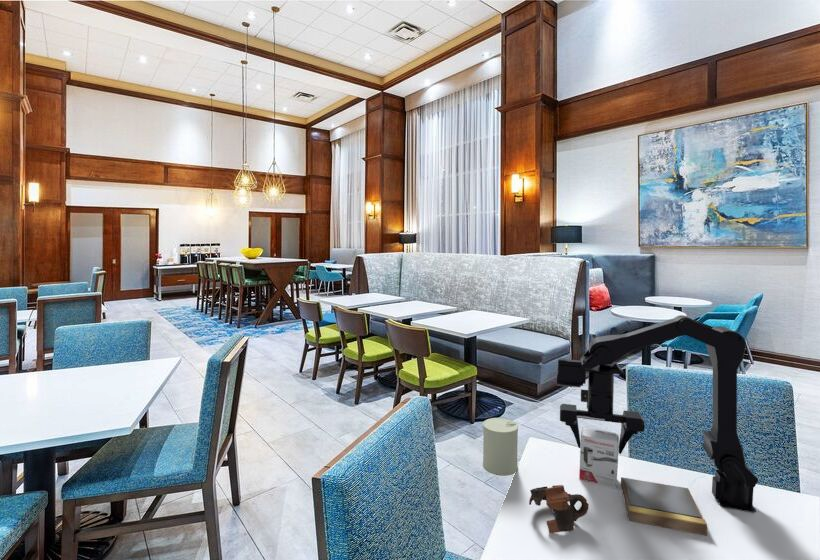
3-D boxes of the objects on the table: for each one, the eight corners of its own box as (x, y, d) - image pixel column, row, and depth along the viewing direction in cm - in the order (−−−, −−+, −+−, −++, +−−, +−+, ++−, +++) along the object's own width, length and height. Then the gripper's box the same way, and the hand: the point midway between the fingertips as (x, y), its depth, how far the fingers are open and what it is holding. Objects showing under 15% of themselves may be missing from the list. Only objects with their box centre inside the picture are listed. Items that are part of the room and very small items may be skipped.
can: (523, 474, 107) (524, 428, 106) (489, 477, 106) (489, 431, 105) (509, 456, 116) (509, 414, 115) (477, 459, 115) (478, 417, 114)
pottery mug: (535, 536, 85) (524, 491, 88) (536, 529, 93) (527, 488, 97) (596, 529, 82) (583, 483, 86) (592, 522, 91) (581, 481, 94)
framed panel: (687, 496, 97) (688, 487, 97) (706, 535, 84) (707, 524, 84) (620, 485, 102) (621, 476, 102) (628, 520, 89) (629, 510, 88)
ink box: (578, 479, 104) (579, 434, 103) (580, 470, 109) (581, 426, 108) (617, 488, 100) (618, 441, 99) (617, 478, 105) (619, 433, 104)
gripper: (638, 382, 107) (636, 441, 108) (560, 375, 113) (559, 431, 115) (645, 397, 96) (643, 462, 98) (560, 389, 103) (559, 450, 104)
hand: (599, 450), depth 104 cm, fingers open, 9 cm apart
